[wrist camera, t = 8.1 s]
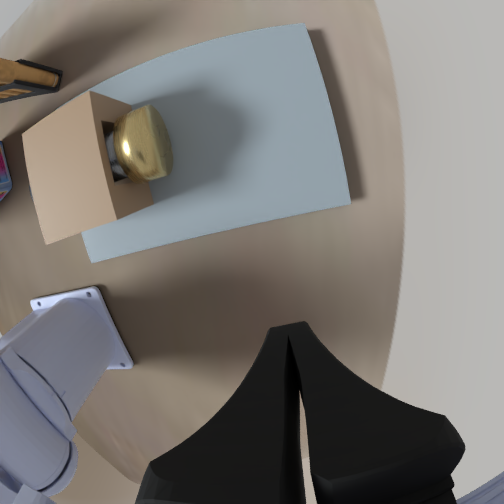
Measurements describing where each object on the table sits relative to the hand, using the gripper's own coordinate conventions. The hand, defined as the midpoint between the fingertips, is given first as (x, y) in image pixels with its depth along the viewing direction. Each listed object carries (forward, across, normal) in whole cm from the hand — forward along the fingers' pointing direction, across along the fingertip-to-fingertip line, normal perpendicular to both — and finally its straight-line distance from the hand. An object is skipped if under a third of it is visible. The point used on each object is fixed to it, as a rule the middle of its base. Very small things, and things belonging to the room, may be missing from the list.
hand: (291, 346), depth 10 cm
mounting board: (+9, +4, -9) cm, 14 cm away
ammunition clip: (+10, +18, -20) cm, 29 cm away
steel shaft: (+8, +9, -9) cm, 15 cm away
